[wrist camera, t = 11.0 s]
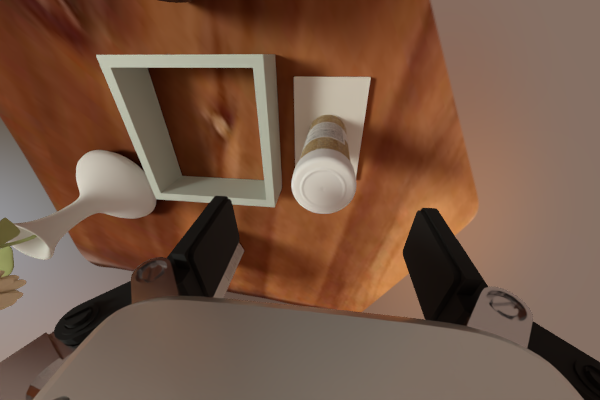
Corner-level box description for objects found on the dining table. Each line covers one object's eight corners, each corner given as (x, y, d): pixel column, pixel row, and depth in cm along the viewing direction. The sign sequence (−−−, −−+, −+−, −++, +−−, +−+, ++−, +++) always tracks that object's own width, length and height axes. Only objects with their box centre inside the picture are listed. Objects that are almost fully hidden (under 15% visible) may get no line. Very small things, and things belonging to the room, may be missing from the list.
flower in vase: (142, 221, 39) (-72, 408, 19) (78, 174, 35) (-286, 344, 15) (182, 183, 34) (-58, 387, 13) (112, 121, 30) (-399, 276, 9)
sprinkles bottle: (338, 156, 28) (342, 223, 17) (303, 145, 28) (283, 206, 17) (352, 119, 25) (368, 170, 14) (314, 107, 25) (299, 149, 14)
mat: (294, 76, 24) (293, 76, 24) (369, 76, 23) (370, 77, 23) (295, 175, 31) (295, 177, 30) (355, 178, 30) (355, 180, 29)
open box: (135, 55, 25) (95, 55, 21) (275, 54, 23) (262, 54, 19) (177, 181, 34) (156, 199, 30) (282, 187, 32) (274, 207, 28)
